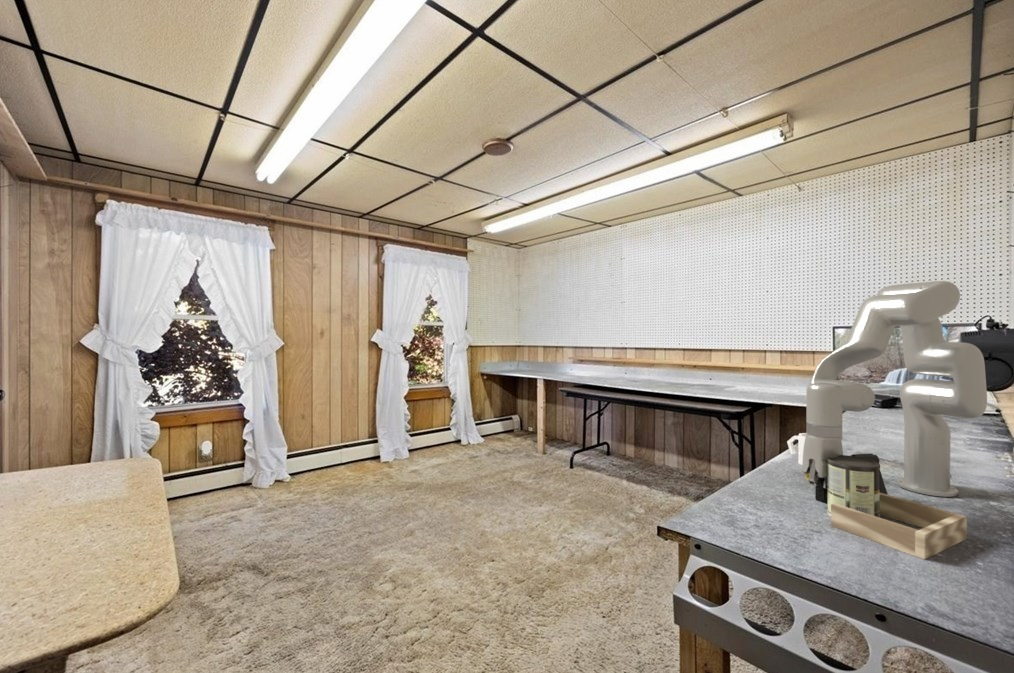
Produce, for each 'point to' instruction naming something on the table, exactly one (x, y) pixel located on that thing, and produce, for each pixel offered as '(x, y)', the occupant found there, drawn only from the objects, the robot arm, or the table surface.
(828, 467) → the coffee can
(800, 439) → the mug
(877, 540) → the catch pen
